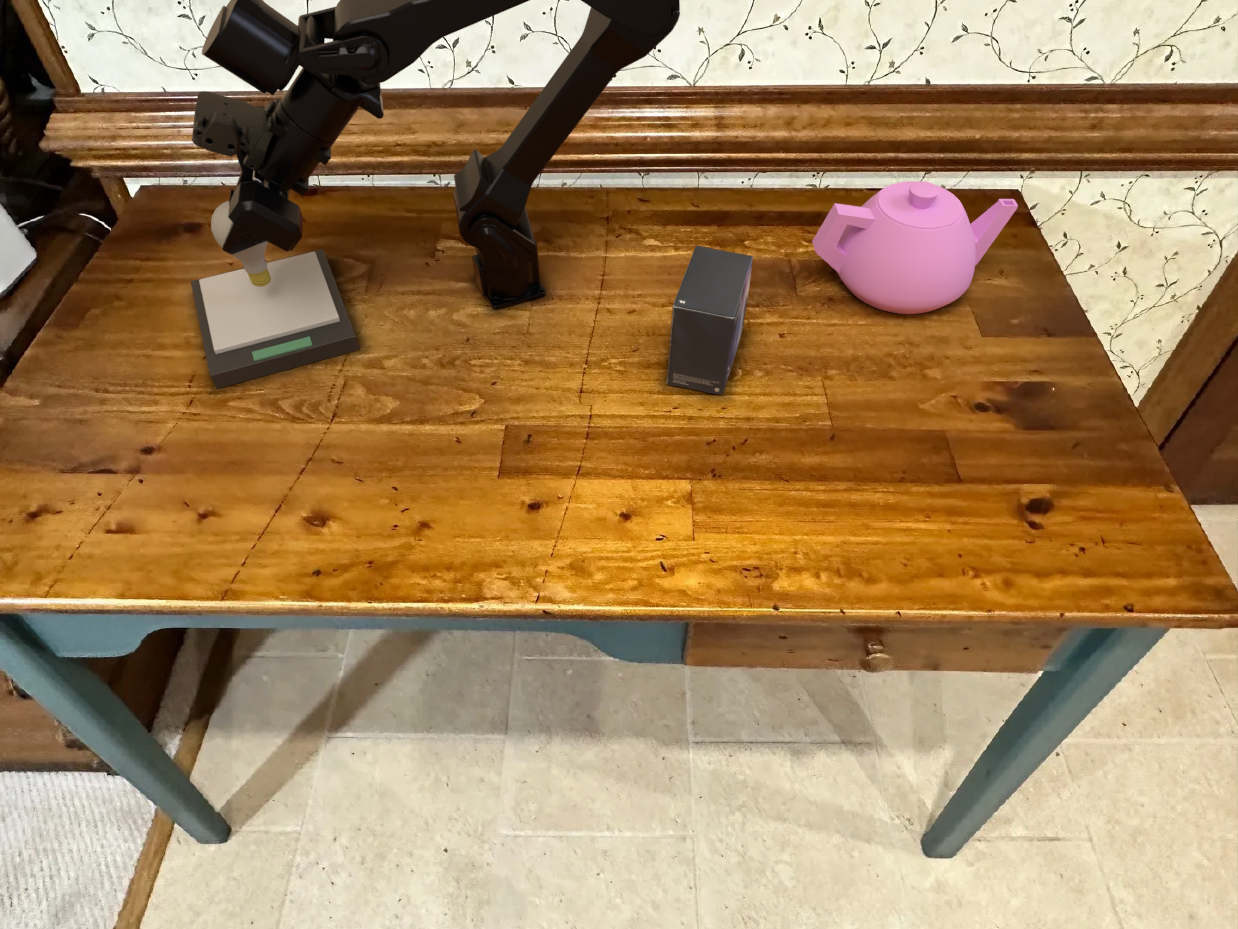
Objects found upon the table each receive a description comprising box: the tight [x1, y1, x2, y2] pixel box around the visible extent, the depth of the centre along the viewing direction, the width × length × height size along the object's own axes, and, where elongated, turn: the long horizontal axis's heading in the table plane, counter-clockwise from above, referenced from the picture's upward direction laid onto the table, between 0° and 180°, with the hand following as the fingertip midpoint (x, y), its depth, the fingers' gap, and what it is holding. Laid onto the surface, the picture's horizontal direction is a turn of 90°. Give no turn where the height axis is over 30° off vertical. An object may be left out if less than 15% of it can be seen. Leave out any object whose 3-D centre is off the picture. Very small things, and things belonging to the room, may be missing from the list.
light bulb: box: [210, 200, 271, 287], centre depth 91 cm, size 6×5×10 cm
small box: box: [665, 245, 754, 396], centre depth 90 cm, size 11×6×10 cm, turn 164°
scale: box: [190, 248, 360, 390], centre depth 97 cm, size 15×17×3 cm
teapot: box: [811, 180, 1019, 315], centre depth 98 cm, size 22×16×12 cm
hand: (229, 234), depth 90 cm, fingers closed on light bulb, 5 cm apart
